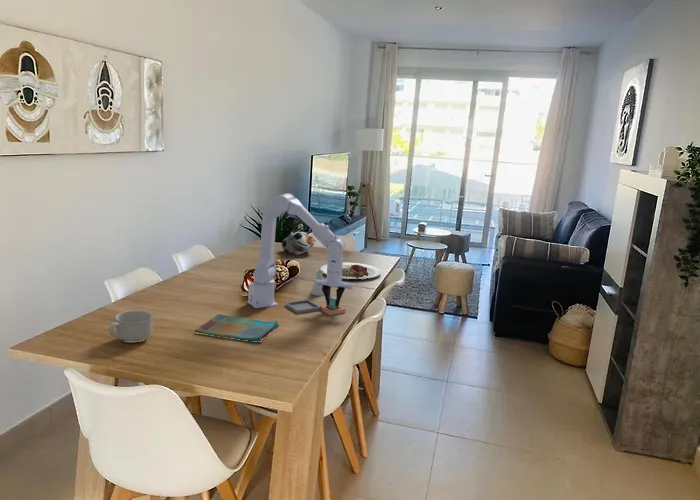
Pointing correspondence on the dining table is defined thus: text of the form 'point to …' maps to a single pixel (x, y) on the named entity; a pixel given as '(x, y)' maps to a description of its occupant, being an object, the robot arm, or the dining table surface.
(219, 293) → the dining table surface
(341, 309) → the salmon square dish
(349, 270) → the plated food
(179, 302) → the dining table surface
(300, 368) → the dining table surface
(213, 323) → the dish towel
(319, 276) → the flask
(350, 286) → the robot arm
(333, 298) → the pin
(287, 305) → the tray
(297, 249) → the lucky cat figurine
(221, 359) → the dining table surface
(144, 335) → the teacup
